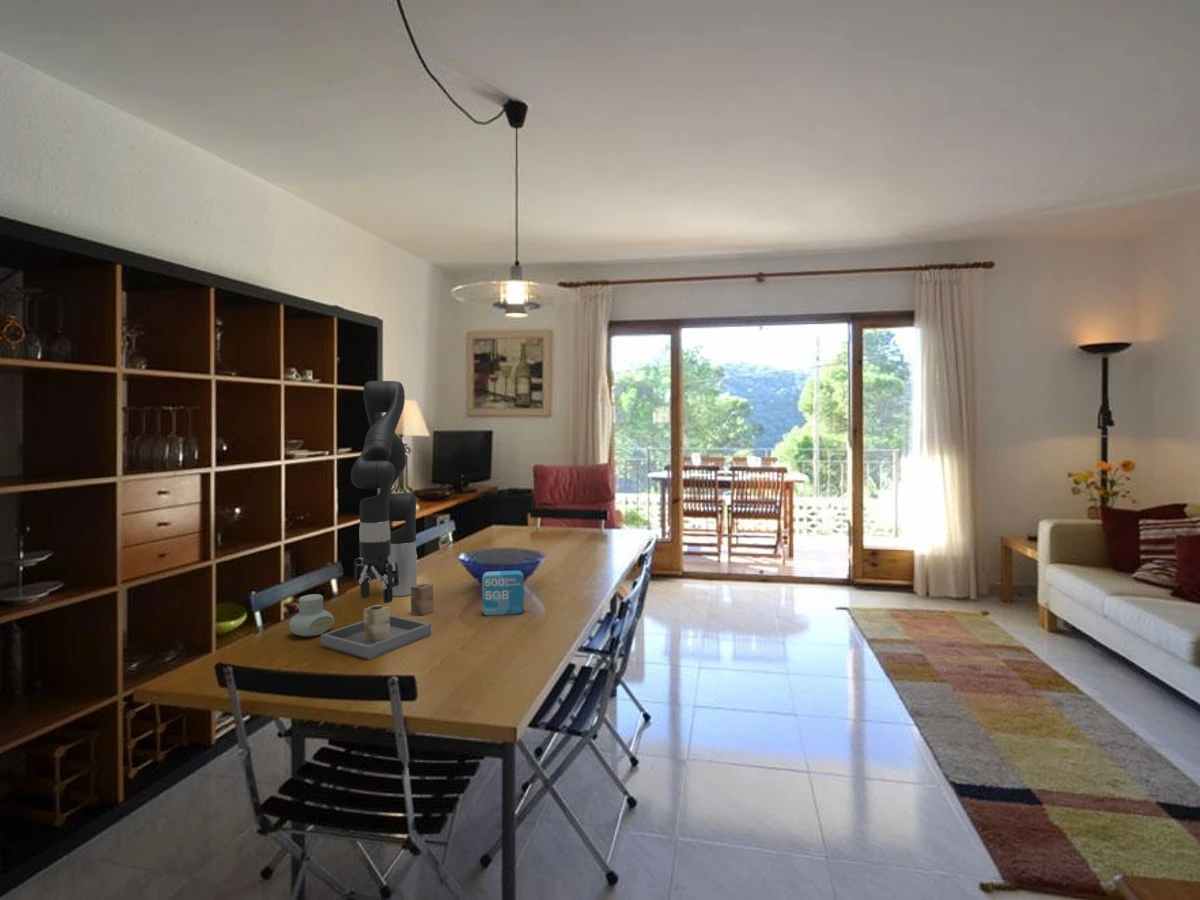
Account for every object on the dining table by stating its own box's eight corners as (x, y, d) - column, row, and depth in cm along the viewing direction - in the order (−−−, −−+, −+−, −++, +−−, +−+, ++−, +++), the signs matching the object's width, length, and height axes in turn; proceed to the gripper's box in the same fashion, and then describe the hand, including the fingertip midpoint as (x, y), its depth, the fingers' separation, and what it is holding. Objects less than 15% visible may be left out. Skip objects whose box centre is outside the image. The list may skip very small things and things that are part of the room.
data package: (482, 616, 183) (481, 575, 183) (483, 611, 188) (482, 571, 187) (523, 614, 185) (523, 573, 185) (523, 609, 190) (523, 570, 189)
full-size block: (411, 613, 186) (410, 586, 186) (422, 609, 190) (422, 582, 190) (422, 615, 184) (421, 588, 184) (433, 611, 188) (432, 584, 187)
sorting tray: (321, 646, 159) (320, 634, 159) (384, 624, 176) (384, 613, 176) (368, 659, 150) (368, 647, 150) (430, 635, 167) (430, 624, 167)
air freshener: (302, 642, 162) (301, 604, 162) (283, 636, 167) (282, 599, 166) (339, 630, 172) (338, 594, 171) (320, 625, 176) (319, 590, 176)
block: (364, 639, 162) (363, 608, 162) (378, 634, 166) (378, 603, 166) (376, 642, 160) (375, 610, 160) (390, 637, 164) (389, 606, 164)
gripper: (344, 537, 162) (346, 599, 163) (381, 543, 155) (383, 608, 156) (368, 533, 169) (370, 592, 170) (405, 538, 161) (407, 600, 162)
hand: (376, 600), depth 163 cm, fingers open, 8 cm apart
